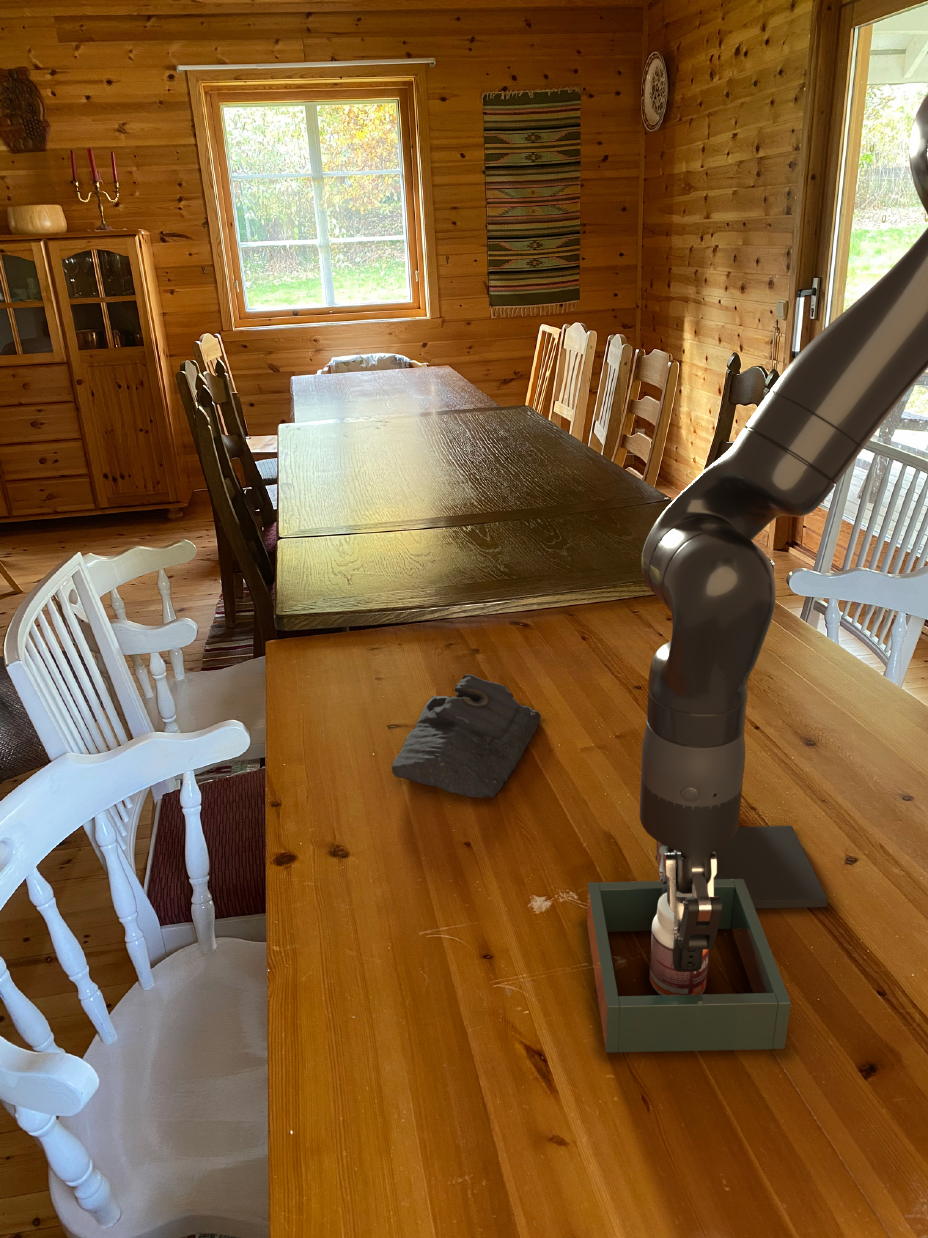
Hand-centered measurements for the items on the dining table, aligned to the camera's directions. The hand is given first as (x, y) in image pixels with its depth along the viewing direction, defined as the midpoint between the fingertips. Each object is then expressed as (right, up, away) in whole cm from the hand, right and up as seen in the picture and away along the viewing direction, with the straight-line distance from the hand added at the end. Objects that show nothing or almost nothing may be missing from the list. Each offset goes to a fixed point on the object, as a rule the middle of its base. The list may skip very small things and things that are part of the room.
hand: (680, 942), depth 76 cm
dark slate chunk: (-18, +11, +37) cm, 43 cm away
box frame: (0, -4, +2) cm, 4 cm away
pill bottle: (0, -4, +2) cm, 5 cm away
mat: (+10, +2, +14) cm, 18 cm away
